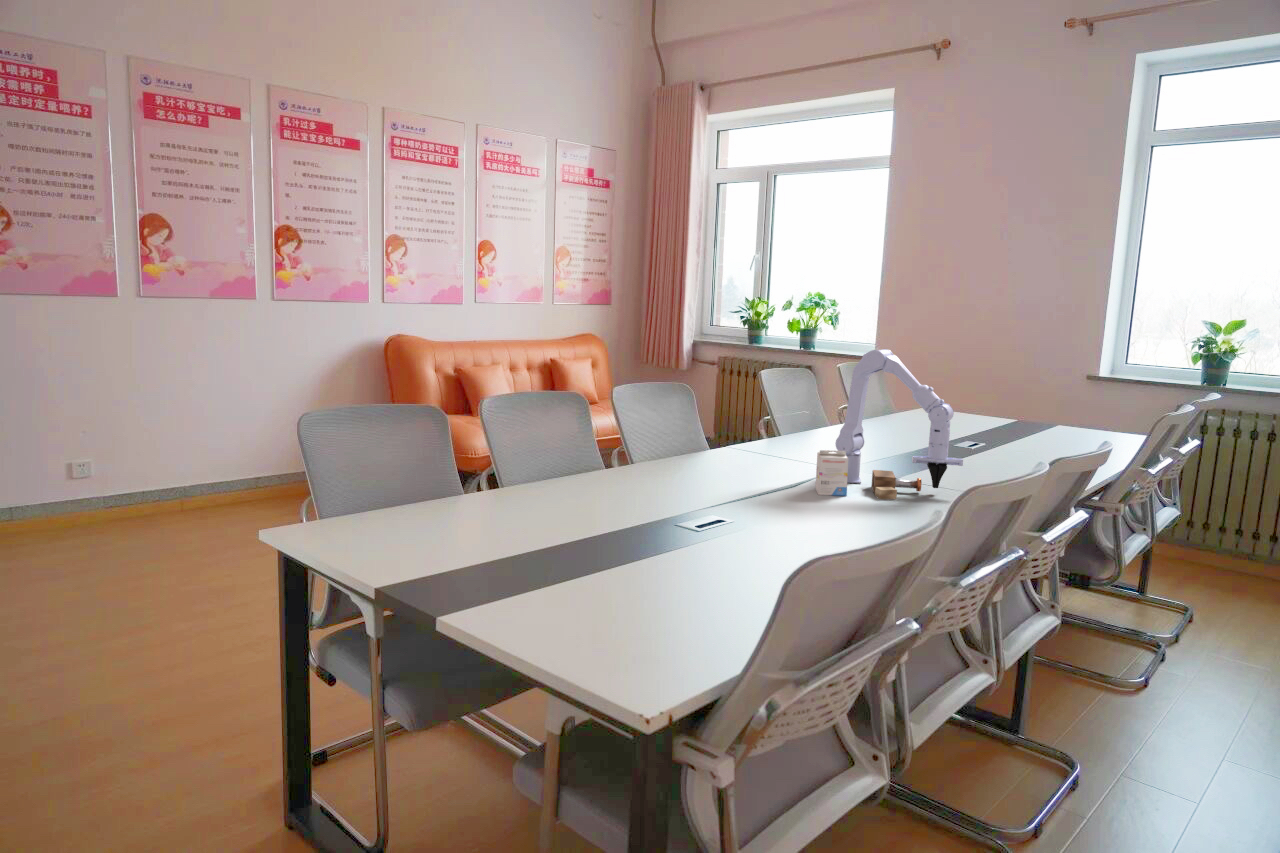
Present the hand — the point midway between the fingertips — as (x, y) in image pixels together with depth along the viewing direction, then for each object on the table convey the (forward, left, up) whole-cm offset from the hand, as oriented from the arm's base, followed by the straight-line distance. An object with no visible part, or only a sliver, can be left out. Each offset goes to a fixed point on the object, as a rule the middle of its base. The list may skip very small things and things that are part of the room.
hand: (935, 487), depth 261 cm
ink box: (-31, -7, -2) cm, 32 cm away
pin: (-10, 0, -1) cm, 11 cm away
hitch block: (-15, 0, -2) cm, 16 cm away
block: (-15, -9, -2) cm, 18 cm away
